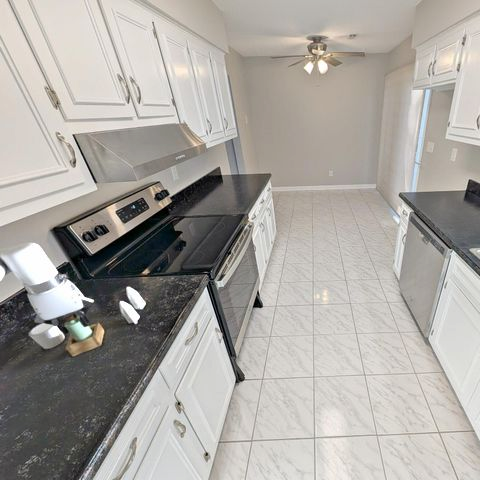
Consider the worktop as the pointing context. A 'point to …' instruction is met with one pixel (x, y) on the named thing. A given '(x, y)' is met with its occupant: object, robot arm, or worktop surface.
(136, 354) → the worktop surface
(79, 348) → the box
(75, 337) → the bottle
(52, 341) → the white cup
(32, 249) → the robot arm
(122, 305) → the shaker set
